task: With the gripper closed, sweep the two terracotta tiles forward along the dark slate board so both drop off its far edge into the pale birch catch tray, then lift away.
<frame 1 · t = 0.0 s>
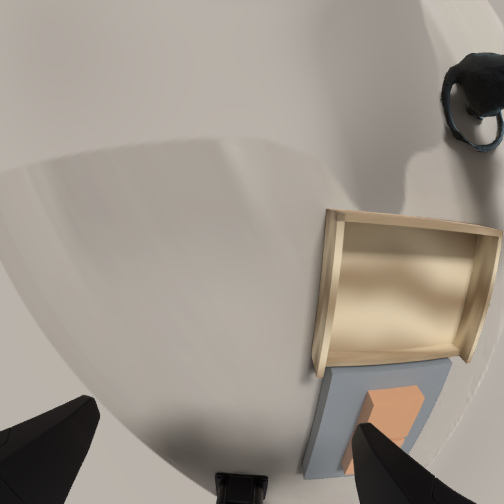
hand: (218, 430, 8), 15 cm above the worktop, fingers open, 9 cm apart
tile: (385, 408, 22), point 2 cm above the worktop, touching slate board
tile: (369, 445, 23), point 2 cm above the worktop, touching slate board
slate board: (369, 417, 25), on the worktop
sculpture: (474, 110, 18), on the worktop
catch tray: (405, 288, 22), on the worktop
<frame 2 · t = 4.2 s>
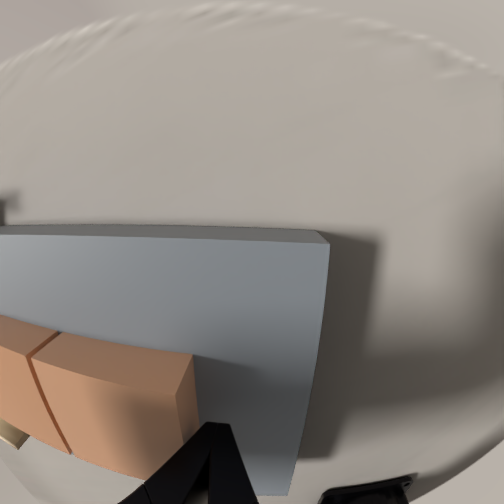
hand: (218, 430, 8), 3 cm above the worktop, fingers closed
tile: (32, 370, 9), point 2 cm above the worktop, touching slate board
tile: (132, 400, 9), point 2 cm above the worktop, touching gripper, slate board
slate board: (117, 358, 11), on the worktop
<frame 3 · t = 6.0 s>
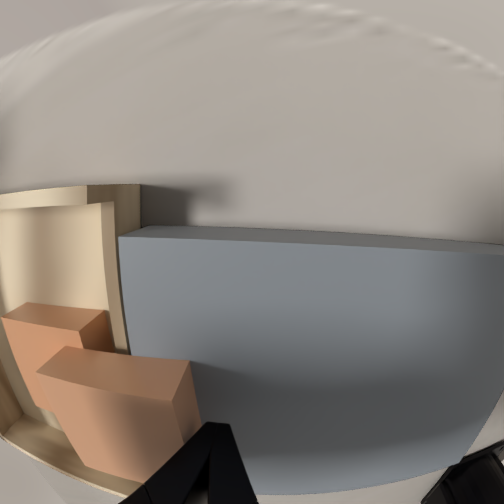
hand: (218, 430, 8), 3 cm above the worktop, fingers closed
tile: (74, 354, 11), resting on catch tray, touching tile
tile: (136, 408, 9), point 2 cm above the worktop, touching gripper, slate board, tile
slate board: (348, 375, 11), on the worktop
catch tray: (51, 342, 12), on the worktop
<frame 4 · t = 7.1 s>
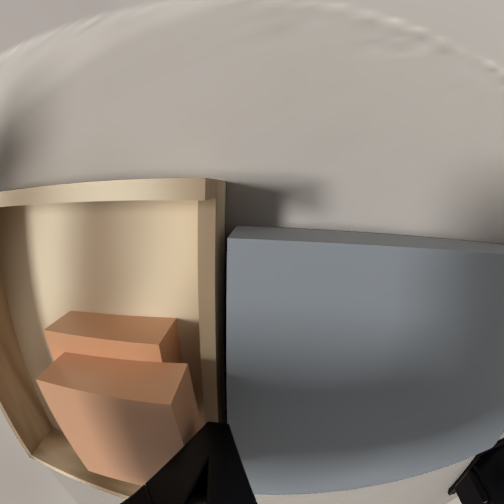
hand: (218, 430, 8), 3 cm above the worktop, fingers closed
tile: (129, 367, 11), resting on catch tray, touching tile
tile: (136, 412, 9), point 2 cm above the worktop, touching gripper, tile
slate board: (411, 369, 11), on the worktop
catch tray: (97, 353, 12), on the worktop
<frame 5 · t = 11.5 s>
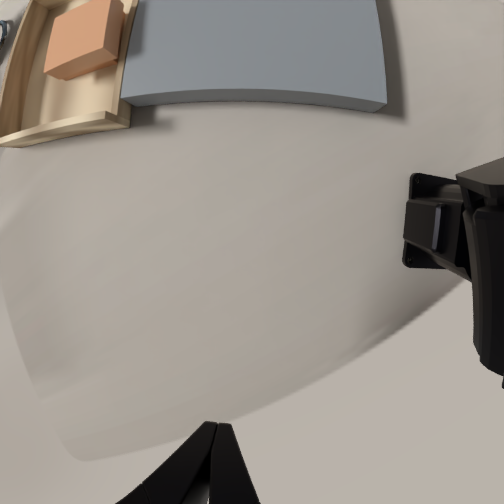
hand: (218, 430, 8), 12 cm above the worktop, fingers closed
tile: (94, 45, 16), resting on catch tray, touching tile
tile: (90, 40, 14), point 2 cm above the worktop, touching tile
slate board: (255, 27, 16), on the worktop
catch tray: (78, 53, 16), on the worktop
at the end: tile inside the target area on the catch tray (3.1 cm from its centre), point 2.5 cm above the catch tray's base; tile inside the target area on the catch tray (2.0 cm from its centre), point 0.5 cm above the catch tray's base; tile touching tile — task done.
